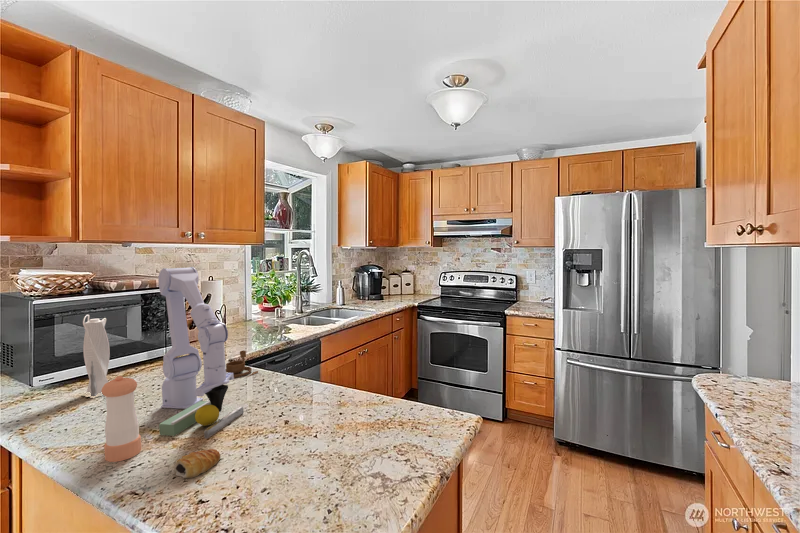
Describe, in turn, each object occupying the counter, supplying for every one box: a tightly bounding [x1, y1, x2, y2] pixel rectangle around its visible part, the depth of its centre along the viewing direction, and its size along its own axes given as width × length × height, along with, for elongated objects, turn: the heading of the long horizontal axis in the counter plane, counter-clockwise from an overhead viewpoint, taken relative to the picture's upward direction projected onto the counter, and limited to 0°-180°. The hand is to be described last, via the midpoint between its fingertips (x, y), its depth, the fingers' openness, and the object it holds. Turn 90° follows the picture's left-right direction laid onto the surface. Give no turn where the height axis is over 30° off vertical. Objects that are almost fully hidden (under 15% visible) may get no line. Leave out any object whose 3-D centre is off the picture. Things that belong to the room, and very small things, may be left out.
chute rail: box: [203, 405, 244, 439], centre depth 110 cm, size 1×16×2 cm, turn 170°
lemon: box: [195, 405, 220, 427], centre depth 110 cm, size 6×6×8 cm
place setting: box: [225, 350, 259, 379], centre depth 161 cm, size 18×20×6 cm
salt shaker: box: [101, 375, 142, 463], centre depth 95 cm, size 7×7×19 cm
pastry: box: [172, 448, 221, 479], centre depth 88 cm, size 9×7×4 cm
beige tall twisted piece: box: [82, 314, 111, 396], centre depth 138 cm, size 8×8×28 cm
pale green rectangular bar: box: [158, 399, 211, 437], centre depth 112 cm, size 4×16×4 cm, turn 169°
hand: (217, 411), depth 114 cm, fingers closed, pressing on lemon
